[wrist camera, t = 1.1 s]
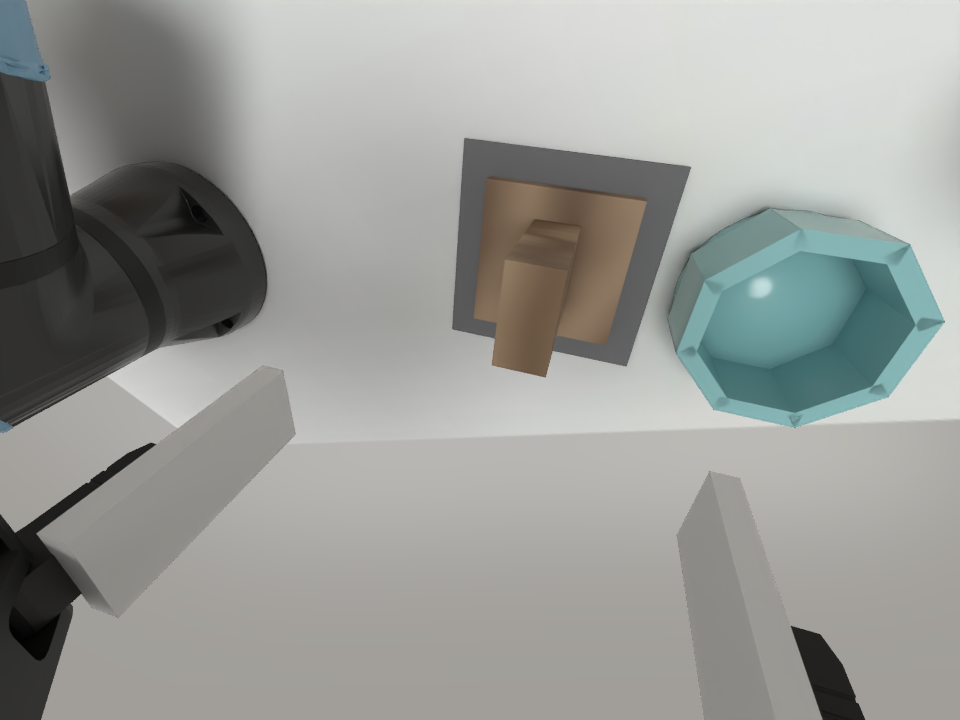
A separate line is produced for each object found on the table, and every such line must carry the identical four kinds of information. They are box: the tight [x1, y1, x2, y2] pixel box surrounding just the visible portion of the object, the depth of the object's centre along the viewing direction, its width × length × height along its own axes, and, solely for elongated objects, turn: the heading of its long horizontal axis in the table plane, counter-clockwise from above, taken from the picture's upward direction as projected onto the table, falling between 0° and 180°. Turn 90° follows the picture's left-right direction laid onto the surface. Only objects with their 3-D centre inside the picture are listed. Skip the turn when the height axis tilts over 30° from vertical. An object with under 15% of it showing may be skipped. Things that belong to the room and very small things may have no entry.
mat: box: [452, 138, 691, 366], centre depth 30 cm, size 14×14×1 cm
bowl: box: [668, 208, 945, 428], centre depth 25 cm, size 11×11×6 cm
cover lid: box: [474, 176, 647, 377], centre depth 26 cm, size 10×10×10 cm
